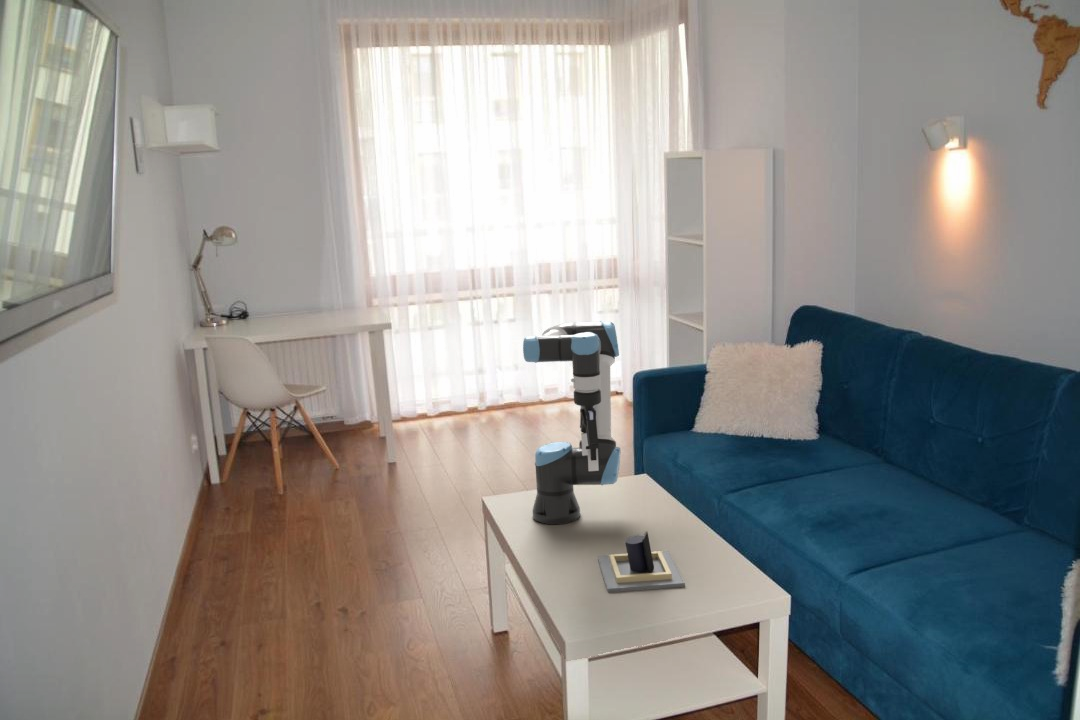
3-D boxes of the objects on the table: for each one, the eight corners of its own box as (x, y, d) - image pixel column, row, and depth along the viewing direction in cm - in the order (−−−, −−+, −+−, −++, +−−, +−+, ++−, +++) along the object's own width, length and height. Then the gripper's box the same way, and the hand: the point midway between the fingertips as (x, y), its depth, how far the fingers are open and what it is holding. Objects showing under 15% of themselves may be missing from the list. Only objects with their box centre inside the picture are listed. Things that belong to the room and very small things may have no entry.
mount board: (598, 559, 240) (597, 551, 240) (669, 554, 241) (668, 546, 241) (607, 592, 221) (607, 583, 220) (684, 586, 222) (684, 577, 221)
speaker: (661, 567, 231) (655, 531, 229) (650, 576, 226) (644, 539, 224) (637, 563, 235) (631, 528, 233) (626, 572, 231) (620, 536, 229)
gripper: (568, 379, 249) (571, 449, 254) (579, 401, 225) (582, 478, 229) (594, 378, 250) (597, 447, 254) (607, 399, 225) (610, 476, 230)
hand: (590, 462), depth 242 cm, fingers open, 13 cm apart
